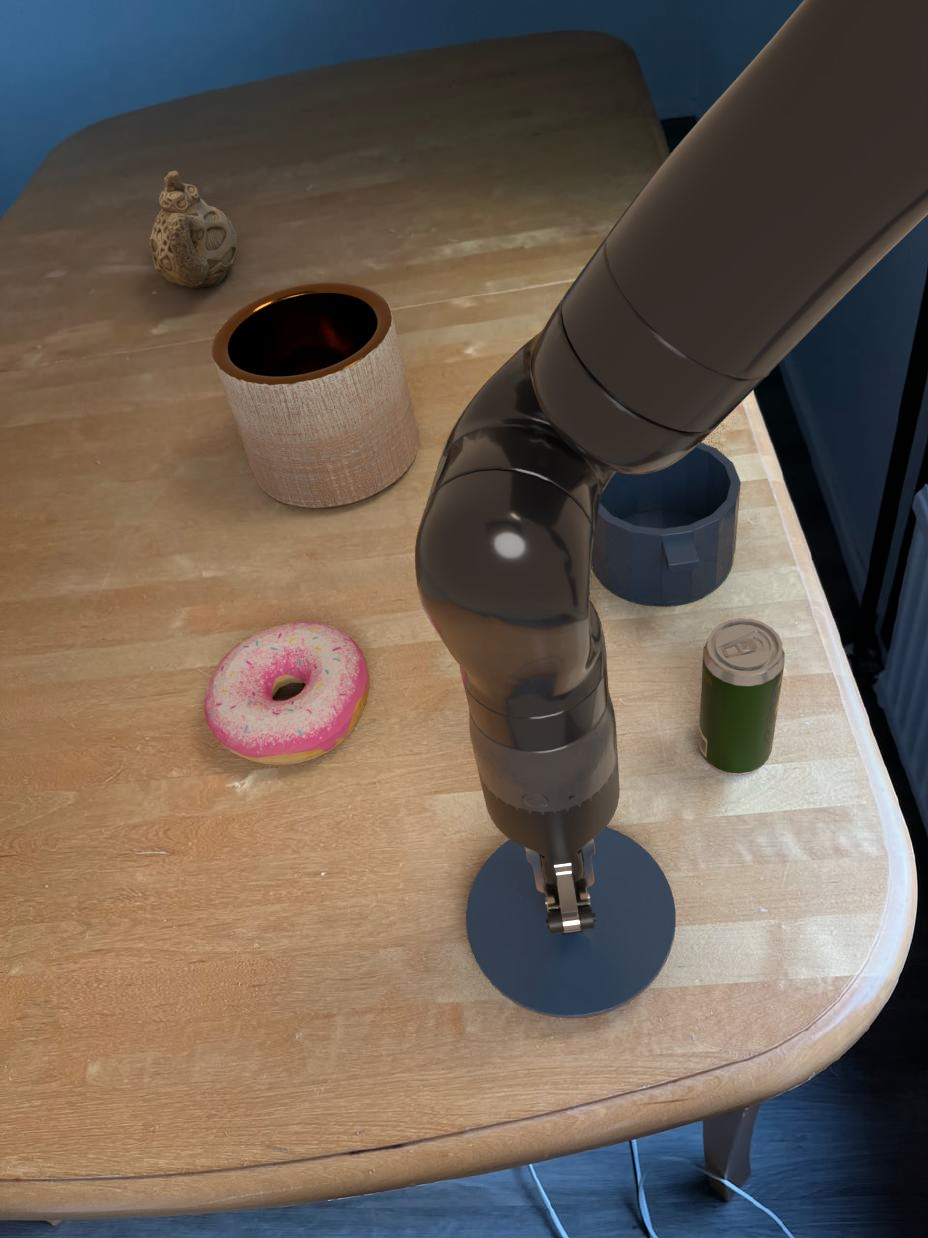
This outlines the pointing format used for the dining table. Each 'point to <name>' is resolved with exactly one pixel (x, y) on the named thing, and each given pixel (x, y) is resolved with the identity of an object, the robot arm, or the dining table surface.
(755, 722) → the beer can
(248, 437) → the planter
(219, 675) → the donut
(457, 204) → the dining table surface
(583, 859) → the robot arm
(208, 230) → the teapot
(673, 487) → the blue cooking pot
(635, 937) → the lid
